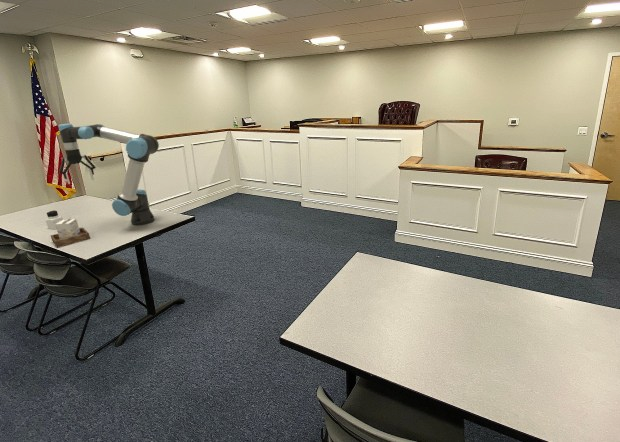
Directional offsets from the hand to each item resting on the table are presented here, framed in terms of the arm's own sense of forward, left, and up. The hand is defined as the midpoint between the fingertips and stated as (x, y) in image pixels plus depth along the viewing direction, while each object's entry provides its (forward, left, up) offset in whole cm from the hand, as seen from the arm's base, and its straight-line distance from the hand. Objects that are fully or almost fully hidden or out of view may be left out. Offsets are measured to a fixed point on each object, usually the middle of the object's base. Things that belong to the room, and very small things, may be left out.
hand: (81, 181), depth 228 cm
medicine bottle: (+18, -24, -33) cm, 45 cm away
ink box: (+16, +13, -32) cm, 38 cm away
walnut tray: (+16, +13, -33) cm, 39 cm away
